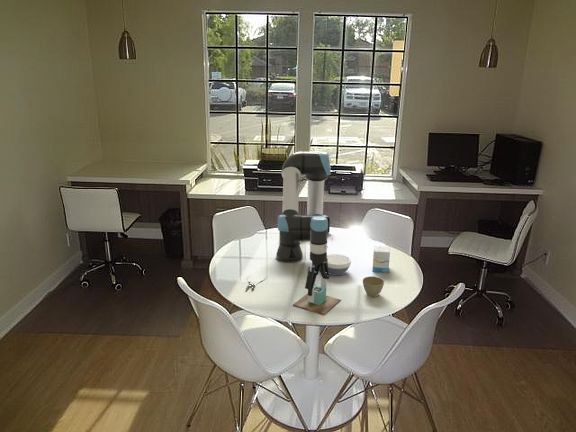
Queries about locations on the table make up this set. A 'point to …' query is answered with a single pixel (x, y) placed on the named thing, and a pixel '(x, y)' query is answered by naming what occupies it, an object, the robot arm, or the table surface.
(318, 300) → the collar
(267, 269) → the table surface
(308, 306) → the post block
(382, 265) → the ink box
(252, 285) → the pliers
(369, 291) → the flower pot
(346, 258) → the bowl
